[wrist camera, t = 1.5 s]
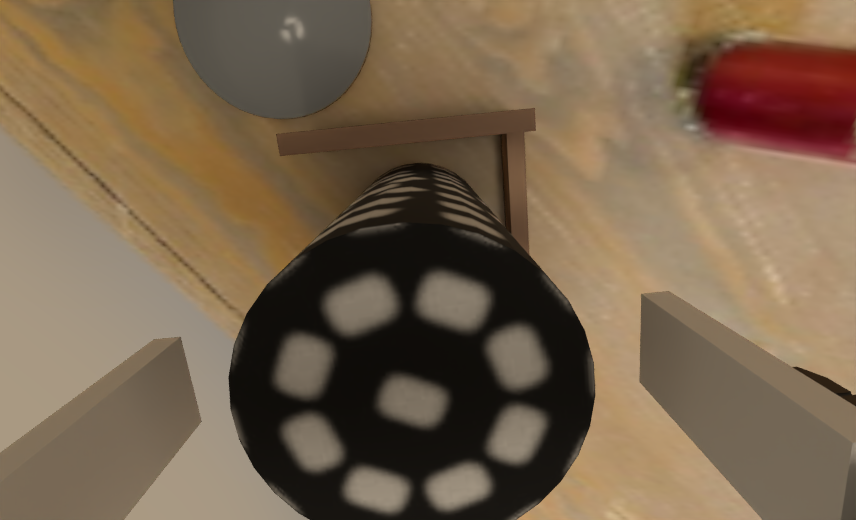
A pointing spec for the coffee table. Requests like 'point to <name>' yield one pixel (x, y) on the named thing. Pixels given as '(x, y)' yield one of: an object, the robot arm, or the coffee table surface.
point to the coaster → (276, 51)
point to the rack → (432, 130)
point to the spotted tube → (412, 364)
